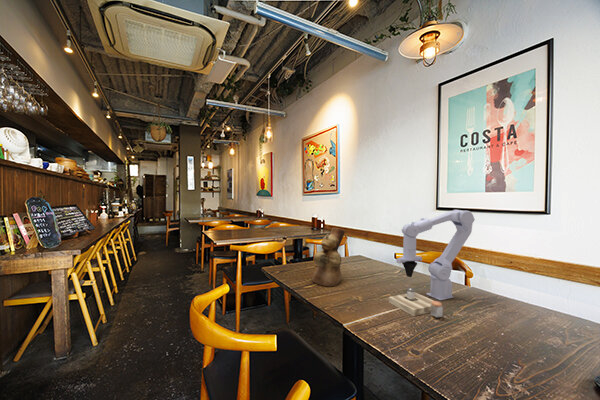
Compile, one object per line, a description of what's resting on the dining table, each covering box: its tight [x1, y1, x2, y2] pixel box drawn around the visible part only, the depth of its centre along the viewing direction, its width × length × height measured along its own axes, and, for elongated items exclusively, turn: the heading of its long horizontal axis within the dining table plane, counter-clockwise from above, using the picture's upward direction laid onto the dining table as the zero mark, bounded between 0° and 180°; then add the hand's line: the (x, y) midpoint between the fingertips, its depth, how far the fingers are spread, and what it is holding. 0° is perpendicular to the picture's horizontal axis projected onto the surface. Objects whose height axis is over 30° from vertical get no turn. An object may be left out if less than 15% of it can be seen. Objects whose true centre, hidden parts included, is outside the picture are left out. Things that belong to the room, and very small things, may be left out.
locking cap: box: [432, 300, 443, 307], centre depth 100 cm, size 4×4×4 cm
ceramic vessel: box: [311, 227, 345, 288], centre depth 142 cm, size 16×22×30 cm
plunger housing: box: [429, 304, 443, 318], centre depth 100 cm, size 3×3×4 cm
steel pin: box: [406, 286, 416, 301], centre depth 112 cm, size 3×3×7 cm
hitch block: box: [388, 291, 435, 317], centre depth 111 cm, size 16×14×2 cm
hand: (409, 276), depth 122 cm, fingers closed
